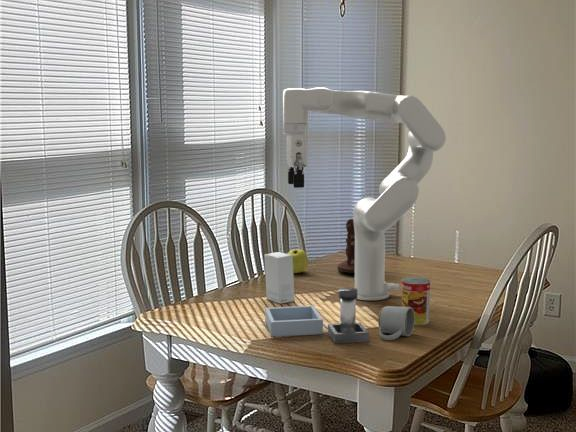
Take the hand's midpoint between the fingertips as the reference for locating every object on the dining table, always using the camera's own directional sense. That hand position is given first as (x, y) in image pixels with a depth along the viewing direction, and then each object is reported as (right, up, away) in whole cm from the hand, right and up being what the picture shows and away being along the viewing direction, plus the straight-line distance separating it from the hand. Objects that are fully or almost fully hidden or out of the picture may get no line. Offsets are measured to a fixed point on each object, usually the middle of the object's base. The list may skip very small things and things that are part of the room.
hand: (296, 185), depth 231 cm
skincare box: (-5, -36, +6) cm, 37 cm away
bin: (-1, -40, -22) cm, 46 cm away
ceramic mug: (+26, -41, -29) cm, 57 cm away
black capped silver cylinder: (+13, -42, -31) cm, 54 cm away
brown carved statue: (+23, -30, +43) cm, 57 cm away
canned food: (+34, -39, -17) cm, 55 cm away
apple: (+1, -30, +43) cm, 52 cm away
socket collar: (+13, -42, -31) cm, 54 cm away
